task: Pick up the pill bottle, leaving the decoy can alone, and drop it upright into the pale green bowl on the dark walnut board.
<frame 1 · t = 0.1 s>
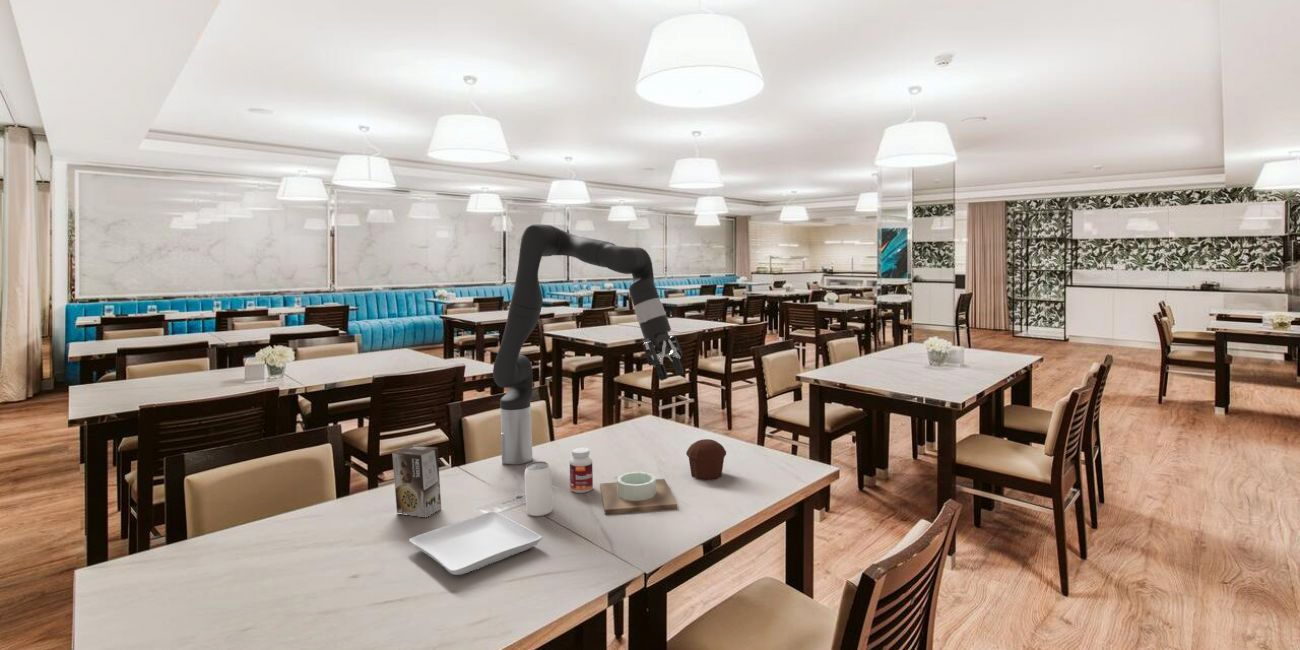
hand: (672, 376, 158), 31 cm above the table, tool tilted 20°, fingers open, 8 cm apart
pale green bowl: (636, 485, 158), on the walnut board, point 3 cm above the table
muffin: (706, 475, 174), on the table
walnut board: (636, 497, 158), on the table
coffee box: (419, 512, 152), on the table
pill bottle: (581, 490, 165), on the table
can: (539, 512, 150), on the table
salad plate: (476, 552, 131), on the table
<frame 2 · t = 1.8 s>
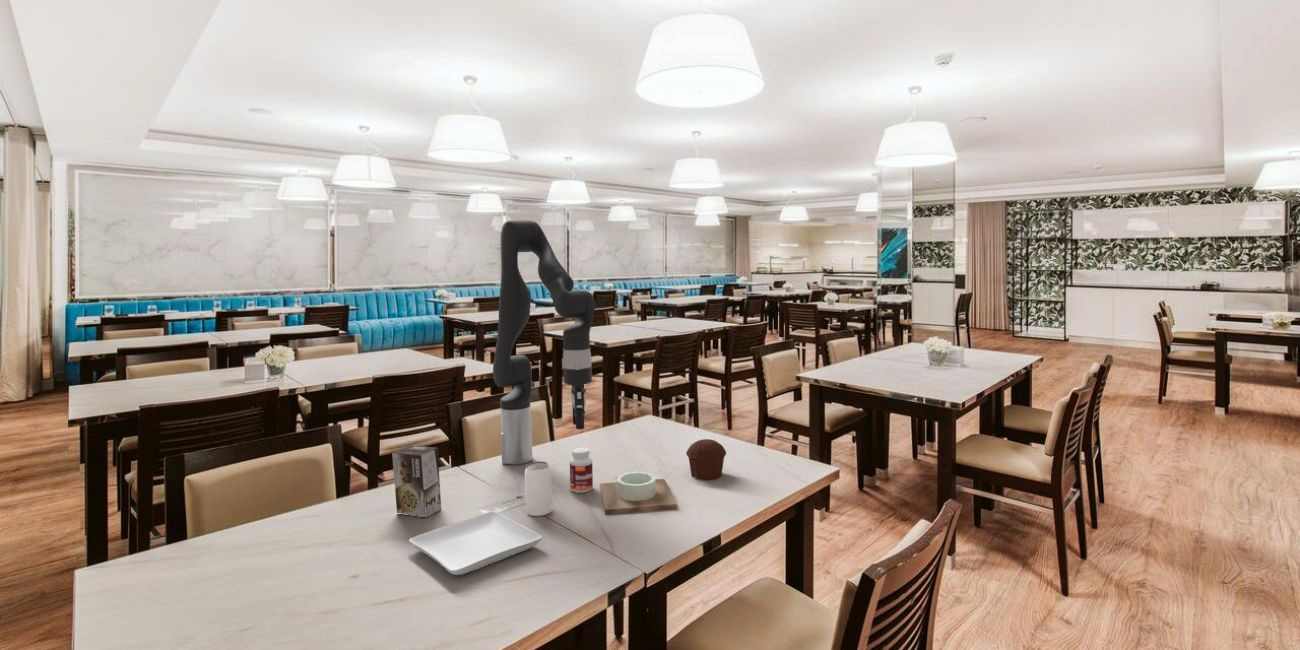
hand: (579, 424, 163), 18 cm above the table, tool pointing down, fingers open, 8 cm apart
nothing on the table moved.
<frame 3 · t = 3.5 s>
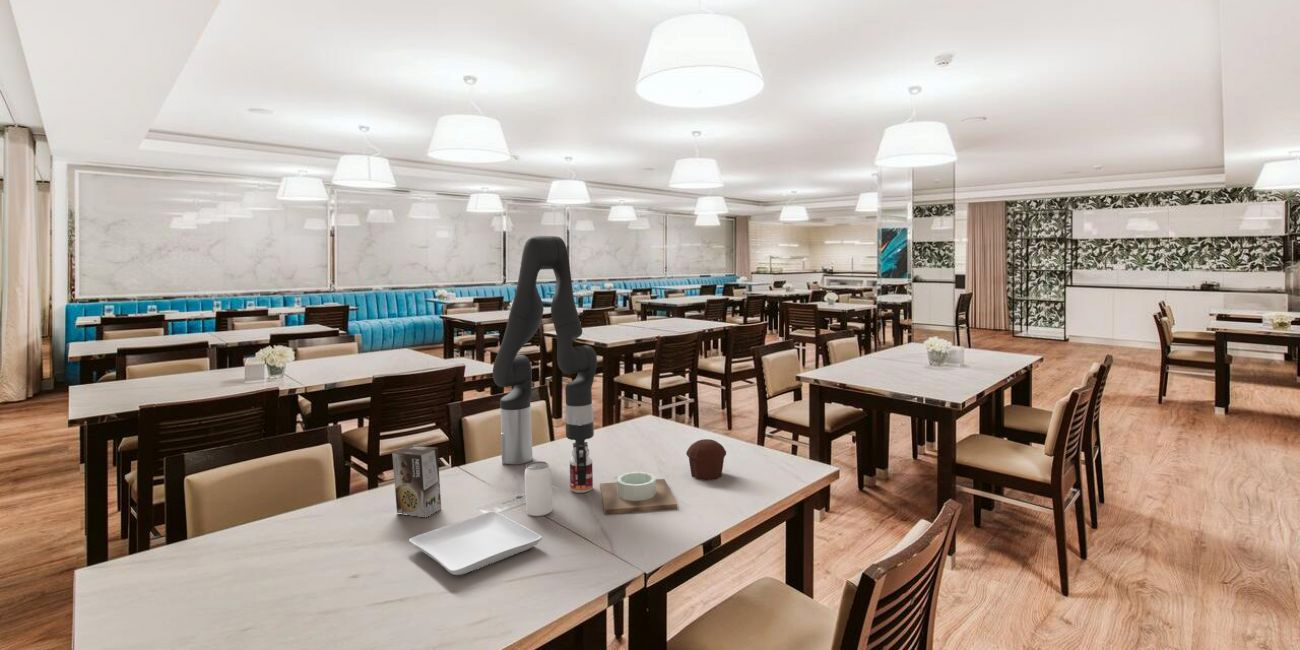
hand: (581, 479, 165), 3 cm above the table, tool pointing down, fingers closed on pill bottle, 6 cm apart
pill bottle: (581, 489, 165), on the table, touching gripper
everything else where it was.
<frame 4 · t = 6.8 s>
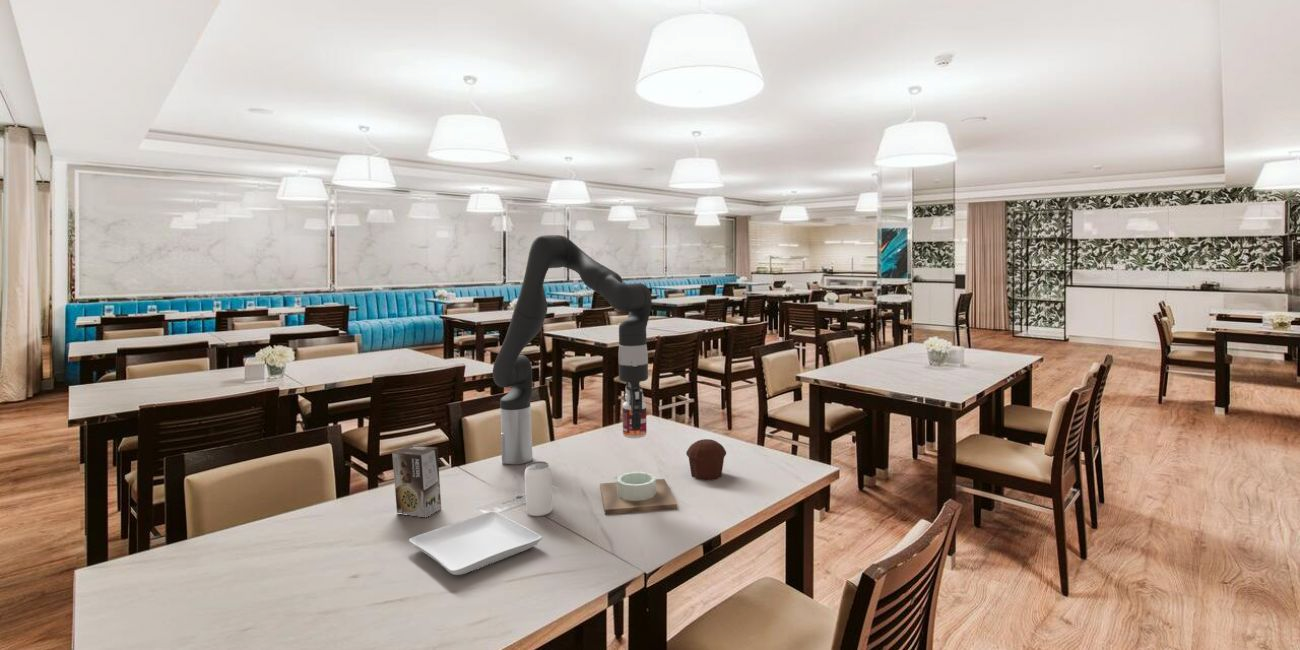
hand: (634, 425, 156), 19 cm above the table, tool pointing down, fingers closed on pill bottle, 6 cm apart
pill bottle: (634, 436, 156), point 16 cm above the table, touching gripper
everything else where it was.
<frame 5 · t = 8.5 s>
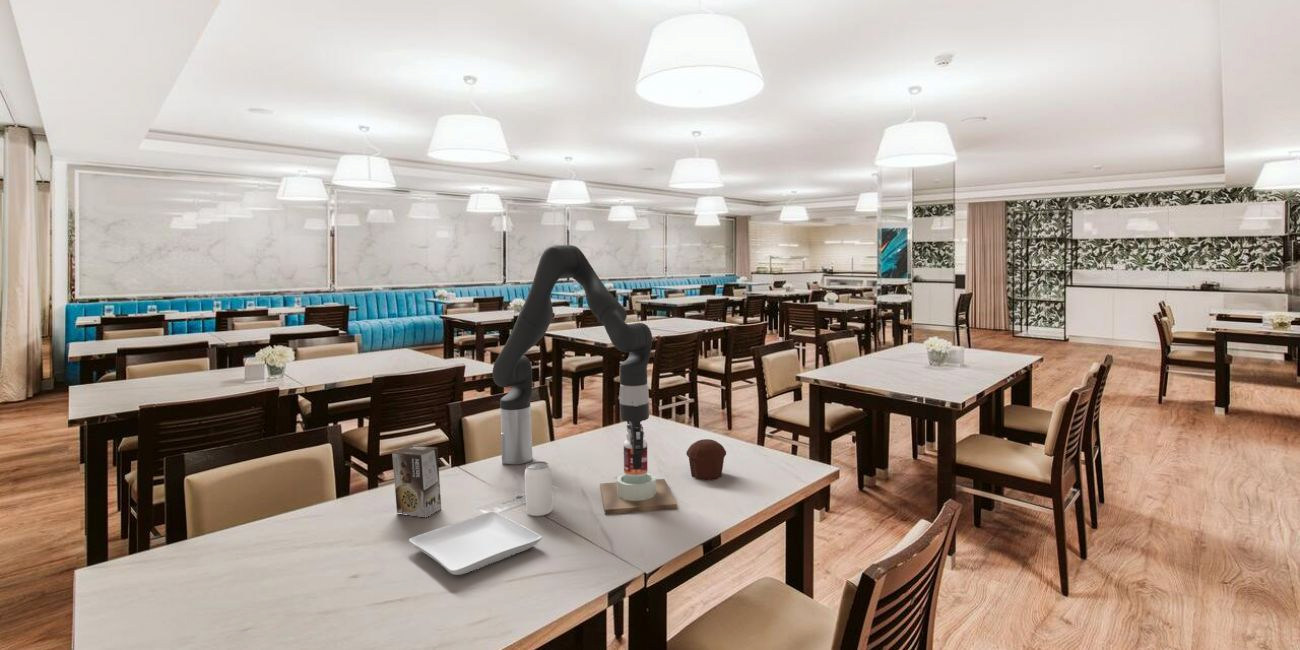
hand: (635, 463, 157), 9 cm above the table, tool pointing down, fingers closed on pill bottle, 6 cm apart
pill bottle: (635, 474, 157), point 6 cm above the table, touching gripper
everything else where it was.
when the fingers open (7 cm above the table, at t = 10.0 s): pill bottle drops 2 cm, resting on pale green bowl.
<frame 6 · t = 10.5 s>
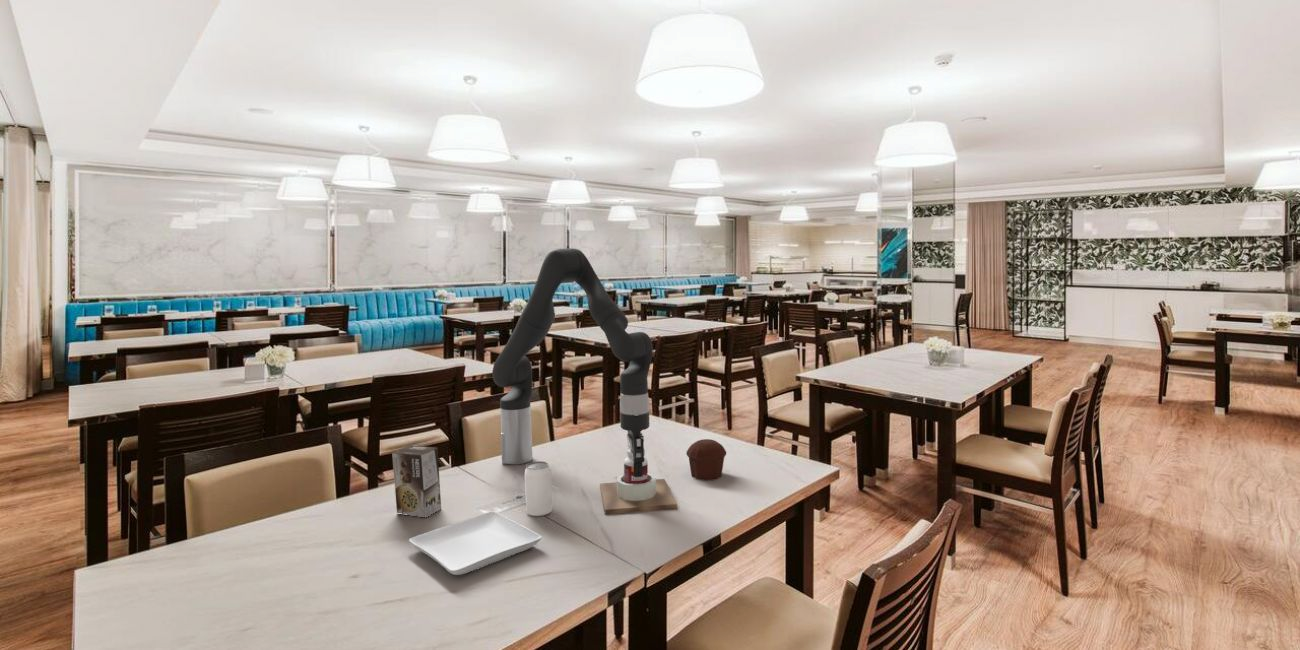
hand: (636, 470, 157), 7 cm above the table, tool pointing down, fingers open, 8 cm apart
pill bottle: (635, 491, 158), point 2 cm above the table, touching pale green bowl
everything else where it was.
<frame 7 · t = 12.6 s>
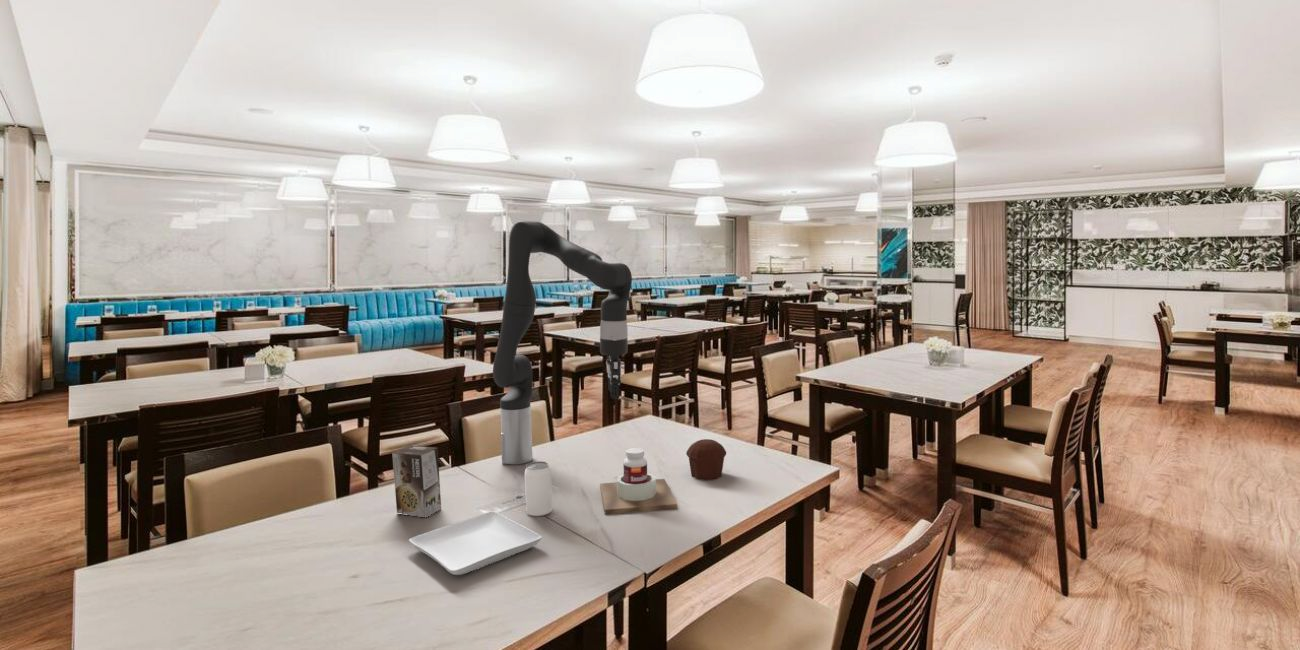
hand: (613, 394, 167), 25 cm above the table, tool pointing down, fingers open, 8 cm apart
nothing on the table moved.
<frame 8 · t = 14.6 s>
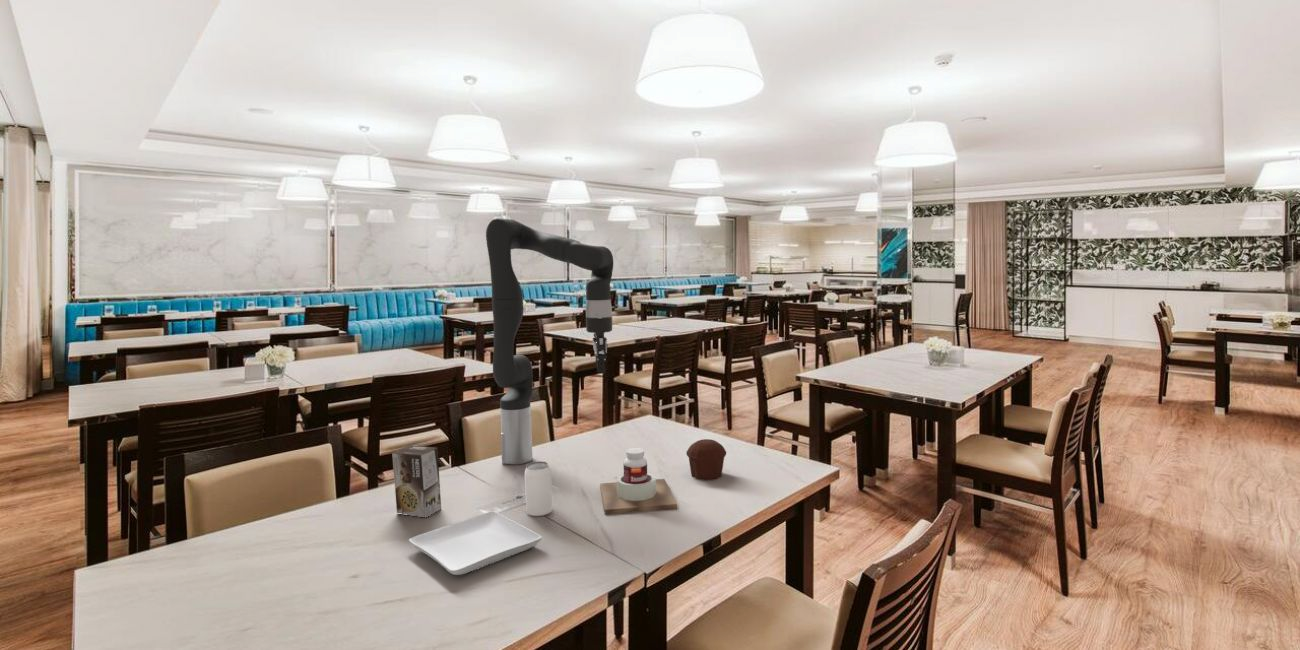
hand: (600, 370, 177), 30 cm above the table, tool pointing down, fingers open, 8 cm apart
nothing on the table moved.
at the end: pill bottle 0.2 cm off-centre on the pale green bowl, point 1.5 cm above the pale green bowl's base; pill bottle tilted 0°; can moved 0.2 cm from its start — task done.
